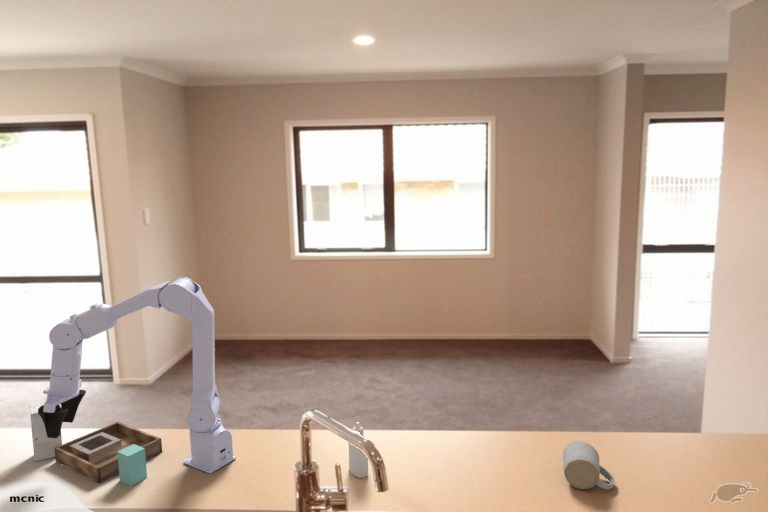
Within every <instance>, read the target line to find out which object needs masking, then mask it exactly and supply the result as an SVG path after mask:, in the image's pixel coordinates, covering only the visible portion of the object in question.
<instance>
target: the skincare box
mask: <svg viewBox="0 0 768 512" xmlns="http://www.w3.org/2000/svg"><path fill="white" fill-rule="evenodd" d="M41 406H42V405H39V406H33V407H29V408H30V424H31V437H32V448H33V449H32V450H33V460H34V461H35V462H38V461H42V460H47V459H51V458H54V457H55V449H54V448H56V447H58V446H60V445H63V440H62V439H63V438H62V430H61V431H60V434H59V437H58V438H48V437H47V434H46V430H45V425H44V422H43V420H42V418H41V416H40V415H39V414H38V408H40V407H41Z"/></svg>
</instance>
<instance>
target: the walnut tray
mask: <svg viewBox="0 0 768 512" xmlns="http://www.w3.org/2000/svg"><path fill="white" fill-rule="evenodd" d="M101 432H103V433H106V434H108V435H111V436H113V437H116V438H118V439H120V440H121V444H122V449H124V448H126V447H128V446H131V445H133V444H135V445H138V446H140V447H142V448H145V458H146V461H147V460H149V459H151V458H153V457H155V456H156V455H160V454H161V453H163V446H162V445H163V443H162V442H163V441H162V438H160V437H159V436H156V435H154V434H151V433H148V432H146V431H142V430H140V429H138V428H135V427H132V426H130V425H127V424H124V423H121V422H119V421H117V422H114V423H112V424H109V425H106V426H105V427H102V428H99V429H98V430H95V431H92V432H89V433H86V434H85V435H82V436H80V437H78V438H75V439H73V440H70V441H68V442H66V443H64V444H63V443H62V445H60V446H58V447H56V448H54V449H55V463H57V462H58V464H59V463H60V465H61V464H63V465H64V466H63V465H62V466H63V467H65V466H66V468H67V467H68V468H67V469H69V468H70V470H71V469H72V472H73V471H74V472H76V473H78V474H80V475H81V476H83V477H86V478H87V479H90V480H91V481H94V482H95V483H97V484H101V483H103V482H104V481H105V482H106V481H107V480H109V479H110V478H113V477H114V476H117V475H119V465H118V454H115V455H113V456H111V457H109V458H107V459H105V460H103V461H100V462H98V463H96V464H92V463H90V462H88V461H86V460H84V459H81V458H79V457H77V456H75V455H73V454H71V453H70V445H72V444H75V443H77V442H79V441H82V440H84V439H87V438H89V437H91V436H94V435H96V434H99V433H101Z"/></svg>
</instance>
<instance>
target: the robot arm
mask: <svg viewBox="0 0 768 512" xmlns="http://www.w3.org/2000/svg"><path fill="white" fill-rule="evenodd" d="M169 283H170V284H169ZM147 307H152V308H153V309H154V308H155V309H160V308H164V310H165V311H168V312H171V313H173V314H176V315H178V316H181V317H183V318H185V319H186V320H187V321H189V322H190V323H191V327H192V328H191V330H192V331H191V333H192V334H191V338H192V339H191V340H192V345H191V346H192V348H191V349H192V393H191V399H190V409H189V411H188V413H187V416H186V423H187V425H188V427H189V441H190V454H191V455H190V457H188V458H186V459H184V460H183V464H186V465H187V466H190V467H193V468H195V469H198V470H200V471H203V472H205V473H207V474H212V473H214V472H215V471H217V470H219V469H221V468H223V467H224V466H227V464H229V463H231V462H232V461H234V460H236V459H237V457H236V456H235V455H234V454H233V453H234V451H233V437H232V436H233V435H232V434H231V432H230V430H227V429H226V428H225V427H224V425H223V422H222V419H221V417H220V415H219V414H218V412H219V411H220V409H221V407H222V401H221V398H220V396H219V394H218V386H217V384H216V368H215V367H216V365H215V364H216V361H215V360H216V357H215V356H216V354H215V353H216V348H215V346H216V344H215V340H216V339H215V335H216V334H215V327H216V326H215V310H214V308H213V306H212V305H211V303H210V301H208V298H207V297H206V295H205V293H204V292H203V290H202V287H201V285H200V284H198V283H196V282H195V281H194V280H192V279H191V278H189V277H185V276H179V277H176V278H174V279H173V280H172V281H171V280H168V281H165V282H162V283H161V282H160V283H159V284H156V285H153V286H150V287H149V288H147V289H144V290H142V291H140V292H138V293H136V294H134V295H132V296H129V297H128V298H125V299H124V300H121V301H120V302H116V304H113V305H110V304H106V303H101V304H98V303H95V304H92V305H90V306H89V309H88V310H85V311H83V312H81V313H79V314H77V313H73V314H72V315H70V316H69V318H66V319H64V320H62V321H61V322H60V323H58V324H56V325H55V326H53V327H52V328H51V330H50V331H49V334H48V335H49V336H48V339H49V342H50V344H51V345H52V352H51V353H52V354H51V362H50V363H51V366H50V378H49V387H46V388H45V389H43V391H42V393H43V394H44V395H46V400H45V402H44V403H43V405H40V406H41V407H40V408H38V414H39V415H40V416H41V418H42V420H43V422H44V425H45V430H46V434H47V437H48V438H58V437H59V434H60V431H61V432H62V426H63V423H74V420H75V419H76V414H77V412H78V408H79V406H80V403H81V402H82V399H84V396H85V395H86V394H87V391H86V390H85V389H80V388H81V387H82V381H83V380H82V379H81V378H80V377H81V366H82V365H81V363H82V356H83V355H82V354H83V352H82V351H83V341H84V340H88V339H90V338H93V337H95V336H96V335H99V334H101V333H103V332H106V331H108V330H109V329H112V328H114V327H116V325H117V322H118V320H119V319H120V318H122V317H125V316H127V315H130V314H133V313H135V312H137V311H140V310H142V309H146V308H147Z"/></svg>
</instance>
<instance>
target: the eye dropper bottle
mask: <svg viewBox="0 0 768 512" xmlns="http://www.w3.org/2000/svg"><path fill="white" fill-rule="evenodd" d="M352 430H355V431H358V432H360V434H361V435H362V436H363V437H364V428H363V426H361V424H360V422H359V421H356V423H355V425H354V426H353V427H352ZM352 430H351V431H352ZM348 469H349V472H350V474H352V476H354V477H355V476H356V477H355V478H357V477H358V479H363V478H367V477H368V476H369V457H368V458H367V457H366V455H365V454H364V453H363V452H362V451H361V450H360V449H358V448H356V447H355V446H353V445H351V444H350V443H349V442H348Z"/></svg>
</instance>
